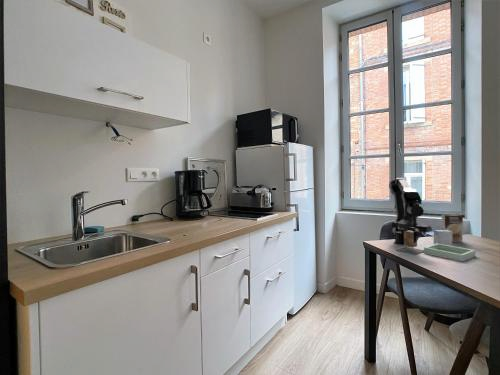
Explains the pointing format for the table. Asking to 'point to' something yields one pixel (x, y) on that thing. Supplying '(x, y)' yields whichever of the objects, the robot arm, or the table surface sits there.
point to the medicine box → (443, 237)
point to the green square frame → (462, 255)
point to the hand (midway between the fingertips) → (410, 242)
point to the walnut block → (409, 239)
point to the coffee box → (453, 226)
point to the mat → (410, 250)
